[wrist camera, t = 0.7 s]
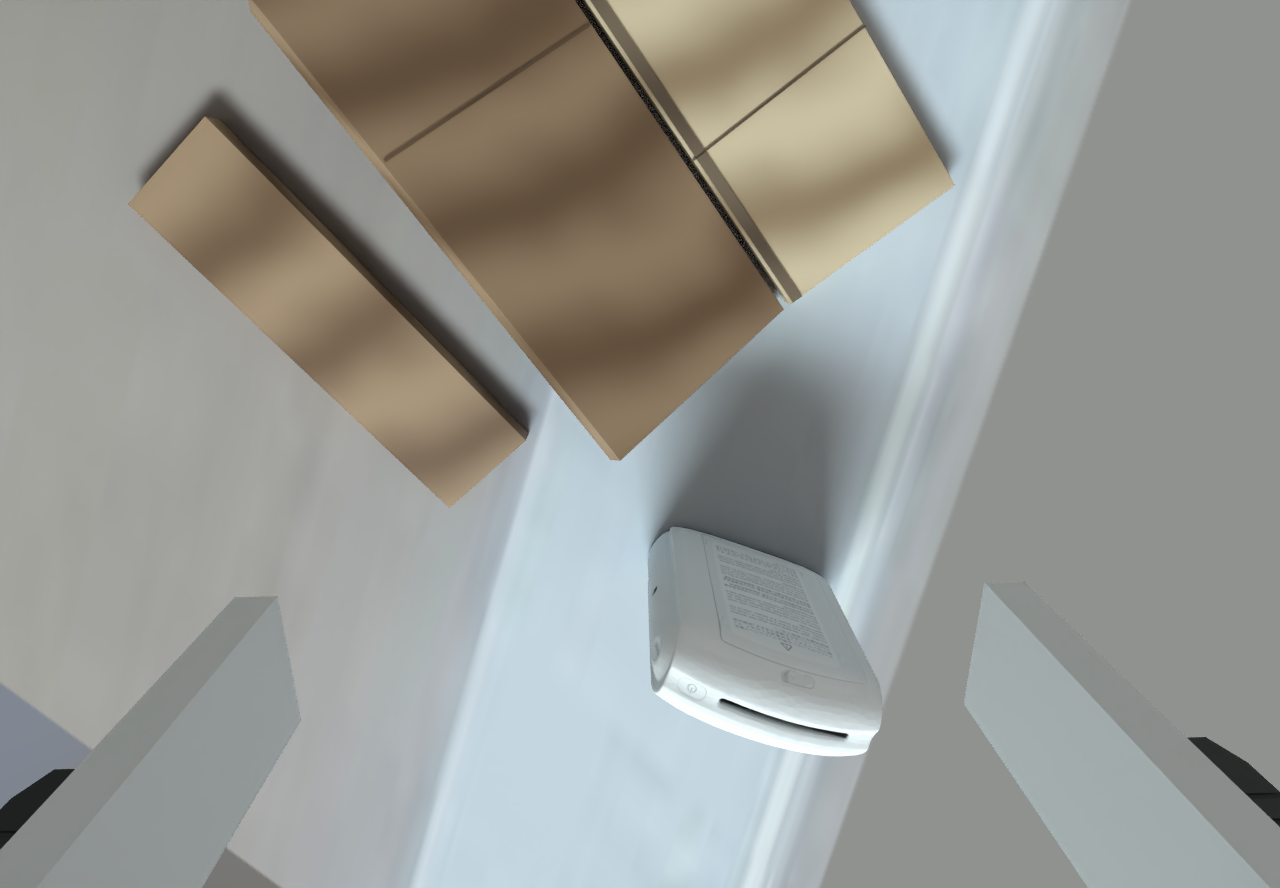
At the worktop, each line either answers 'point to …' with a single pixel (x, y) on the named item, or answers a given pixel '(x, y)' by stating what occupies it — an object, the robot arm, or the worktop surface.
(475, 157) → the plank
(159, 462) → the worktop surface
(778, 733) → the photo printer
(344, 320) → the plank
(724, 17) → the light wood flat board
